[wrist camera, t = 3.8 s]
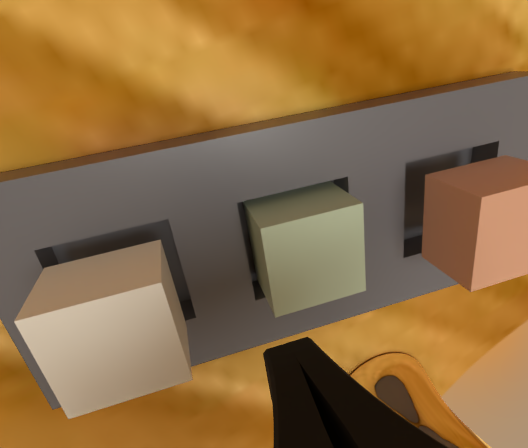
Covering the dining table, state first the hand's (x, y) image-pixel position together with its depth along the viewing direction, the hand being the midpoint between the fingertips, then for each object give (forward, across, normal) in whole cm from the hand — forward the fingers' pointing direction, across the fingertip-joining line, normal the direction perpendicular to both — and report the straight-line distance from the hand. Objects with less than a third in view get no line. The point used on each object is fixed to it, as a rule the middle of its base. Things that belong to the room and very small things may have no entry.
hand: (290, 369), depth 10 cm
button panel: (+8, -2, -1) cm, 8 cm away
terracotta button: (+5, -10, -1) cm, 11 cm away
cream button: (+5, +5, -1) cm, 7 cm away
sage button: (+7, -2, -1) cm, 7 cm away
